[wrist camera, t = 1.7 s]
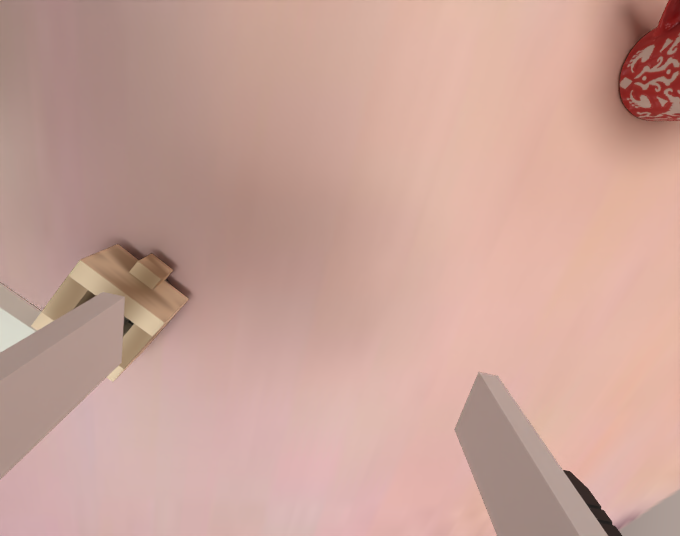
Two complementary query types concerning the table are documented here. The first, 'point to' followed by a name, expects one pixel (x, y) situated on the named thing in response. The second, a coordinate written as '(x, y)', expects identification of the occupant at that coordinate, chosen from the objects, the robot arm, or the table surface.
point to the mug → (655, 71)
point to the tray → (15, 318)
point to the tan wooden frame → (125, 280)
